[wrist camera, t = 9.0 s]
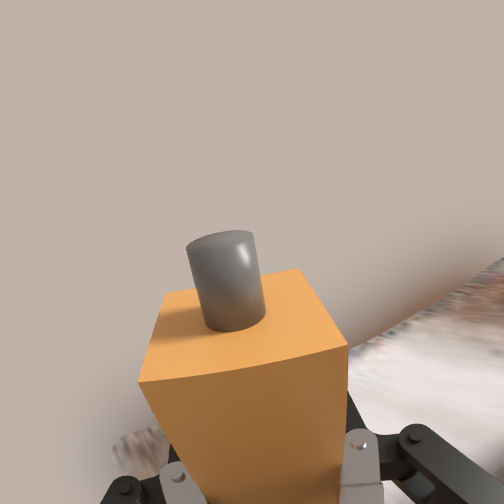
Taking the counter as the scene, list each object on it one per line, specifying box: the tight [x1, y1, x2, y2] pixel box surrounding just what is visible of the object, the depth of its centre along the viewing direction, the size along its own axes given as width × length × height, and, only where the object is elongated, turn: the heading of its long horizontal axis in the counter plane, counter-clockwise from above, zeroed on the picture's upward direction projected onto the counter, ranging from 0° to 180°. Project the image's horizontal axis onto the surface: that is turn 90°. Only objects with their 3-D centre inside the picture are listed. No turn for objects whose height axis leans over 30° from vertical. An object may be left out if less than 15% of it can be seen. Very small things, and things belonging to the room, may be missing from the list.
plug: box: [138, 230, 348, 504], centre depth 10 cm, size 4×4×16 cm
